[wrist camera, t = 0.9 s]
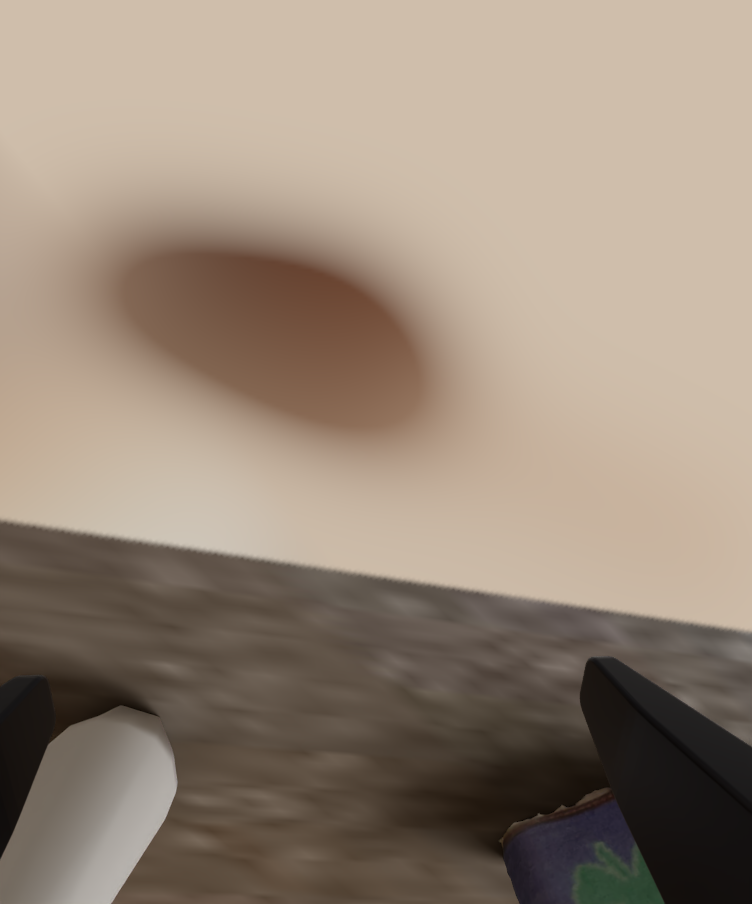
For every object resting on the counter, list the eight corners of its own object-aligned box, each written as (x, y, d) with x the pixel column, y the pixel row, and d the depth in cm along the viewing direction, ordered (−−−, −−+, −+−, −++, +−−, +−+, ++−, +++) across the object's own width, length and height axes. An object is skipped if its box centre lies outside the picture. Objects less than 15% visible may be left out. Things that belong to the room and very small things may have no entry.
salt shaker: (34, 727, 24) (-318, 1137, 11) (145, 665, 24) (-75, 998, 11) (108, 825, 25) (-137, 1309, 12) (214, 764, 25) (86, 1179, 12)
